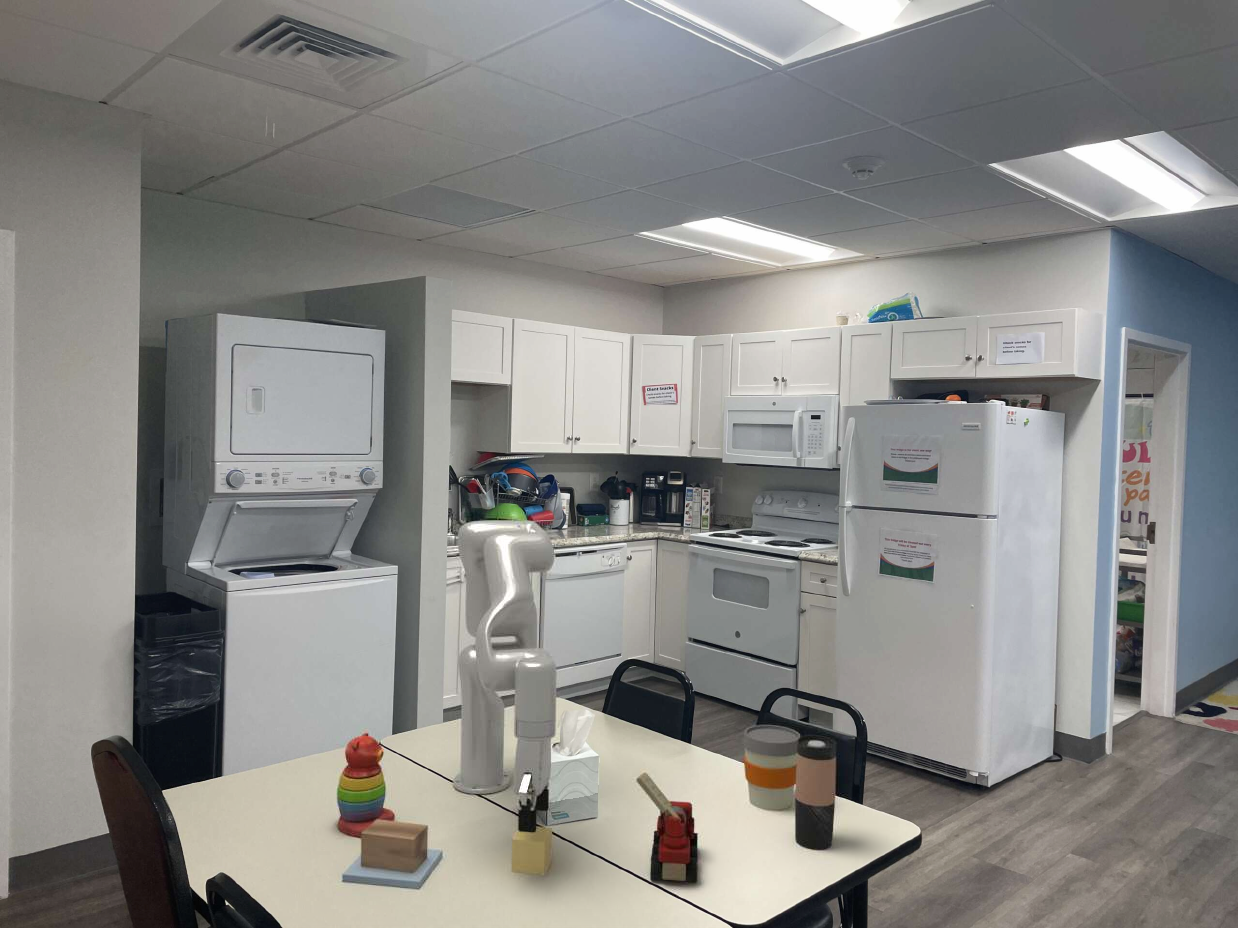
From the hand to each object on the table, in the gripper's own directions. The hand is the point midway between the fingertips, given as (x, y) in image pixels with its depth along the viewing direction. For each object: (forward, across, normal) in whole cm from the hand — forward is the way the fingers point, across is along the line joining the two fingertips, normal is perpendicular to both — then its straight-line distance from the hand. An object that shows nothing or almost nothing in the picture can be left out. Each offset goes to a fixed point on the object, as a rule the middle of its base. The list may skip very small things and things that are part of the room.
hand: (533, 820), depth 165 cm
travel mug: (+9, -21, +52) cm, 56 cm away
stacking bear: (+8, -11, -37) cm, 40 cm away
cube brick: (+9, -1, 0) cm, 9 cm away
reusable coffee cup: (+8, -39, +44) cm, 59 cm away
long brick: (+7, +5, -24) cm, 26 cm away
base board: (+8, +5, -24) cm, 26 cm away
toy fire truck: (+9, -6, +24) cm, 26 cm away
